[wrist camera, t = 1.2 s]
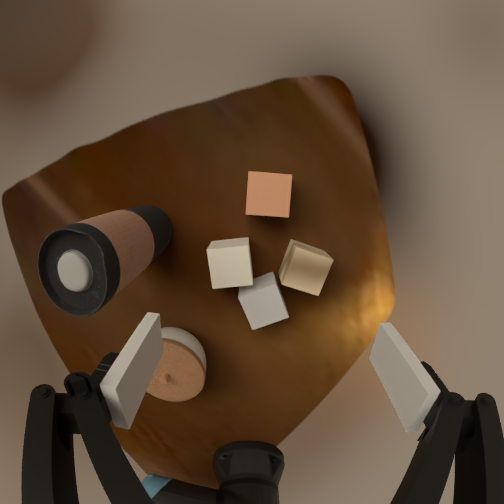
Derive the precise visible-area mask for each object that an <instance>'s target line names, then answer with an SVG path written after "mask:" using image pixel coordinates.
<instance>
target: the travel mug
mask: <svg viewBox="0 0 504 504" xmlns="http://www.w3.org/2000/svg"><path fill="white" fill-rule="evenodd" d="M171 236H172V227H171V223H170V221H169V219H168V217H167V215H166V214H165V213H164V212H163V211H162V210H160V209H158V208H156V207H154V206H140V207H134V208H128V209H123V210H117V211H113V212H110V213H106V214H103V215H100V216H96V217H93V218H90V219H86V220H83V221H80V222H77V223H74V224H70V225H67V226H64V227H61V228H59V229H56V230H54V231H53V232H51V233H50V234H49V235H48V236H47V237H46V238H45V239H44V241H43V243H42V244H41V247H40V250H39V254H38V272H39V277H40V281H41V283H42V286H43V288H44V290H45V292H46V294H47V295H48V297H49V298H50V300H51V301H52V302H53V303H54V304H55V305H56V306H57V307H58V308H60V309H61V310H62V311H64V312H66V313H68V314H70V315H73V316H79V317H84V316H89V315H91V314H94V313H95V312H97V311H98V310H99V309H100V308H102V307H103V306H104V305H105V304H106V303H107V302H108V301H109V300H111V299H112V298H113V297H114V296H115V295H116V294H117V293H118V292H120V291H121V290H122V289H123V288H124V287H125V286H126V285H128V284H129V283H130V282H131V281H132V280H133V279H135V278H136V277H137V276H138V275H139V274H140V273H142V272H143V271H144V270H145V269H146V268H147V267H148V266H149V265H150V264H151V263H152V262H153V261H154V260H155V259H156V258H157V257H158V256H159V255H160V254H161V253H162V252H163V251H164V250H165V249H166V248H167V246H168V245H169V243H170V240H171Z"/></svg>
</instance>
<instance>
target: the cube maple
mask: <svg viewBox="0 0 504 504" xmlns="http://www.w3.org/2000/svg"><path fill="white" fill-rule="evenodd" d="M332 262H333V259H332V258H331V257H330V256H329V255H328V254H327V253H326V252H325V251H324V250H321V249H318V248H315V247H313V246H310V245H307V244H304V243H301V242H298V241H295V240H293V239H291V240H290V243H289V245H288V248H287V251H286V253H285V256H284V259H283V261H282V264H281V267H280V269H279V272H278V273H279V277H280V280H281V283H282V285H285V286H288V287H291V288H294V289H297V290H301V291H304V292H307V293H310V294H313V295H317V296H319V293H320V291H321V289H322V286H323V284H324V282H325V279H326V277H327V275H328V272H329V270H330V267H331V265H332Z"/></svg>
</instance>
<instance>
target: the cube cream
mask: <svg viewBox="0 0 504 504" xmlns="http://www.w3.org/2000/svg"><path fill="white" fill-rule="evenodd" d="M207 256H208V263H209V269H210V276H211V282H212V288H213V289H217V288H227V287H238V286H248V285H253V272H252V263H251V254H250V245H249V237H246V238H237V239H228V240H219V241H212V242H211V243H210V245H209V247H208V248H207Z"/></svg>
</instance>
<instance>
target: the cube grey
mask: <svg viewBox="0 0 504 504" xmlns="http://www.w3.org/2000/svg"><path fill="white" fill-rule="evenodd" d="M238 298H239V301H240V303H241V305H242V307H243V310H244V312H245V314H246V316H247V319H248V321H249V323H250V325H251V328H252V330H254V329H257V328H260V327H263V326H266V325H269V324H272V323H275V322H278V321H280V320H283V319H286V318H289V316H288V312H287V308H286V305H285V301H284V299H283V296H282V293H281V291H280V288H279V286H278V283H277V280H276V278H275V275H274V273H273V272H270V273H268V274H265V275H262V276H260V277H257V278H254V279H253V285H248V286H239V294H238Z"/></svg>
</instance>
